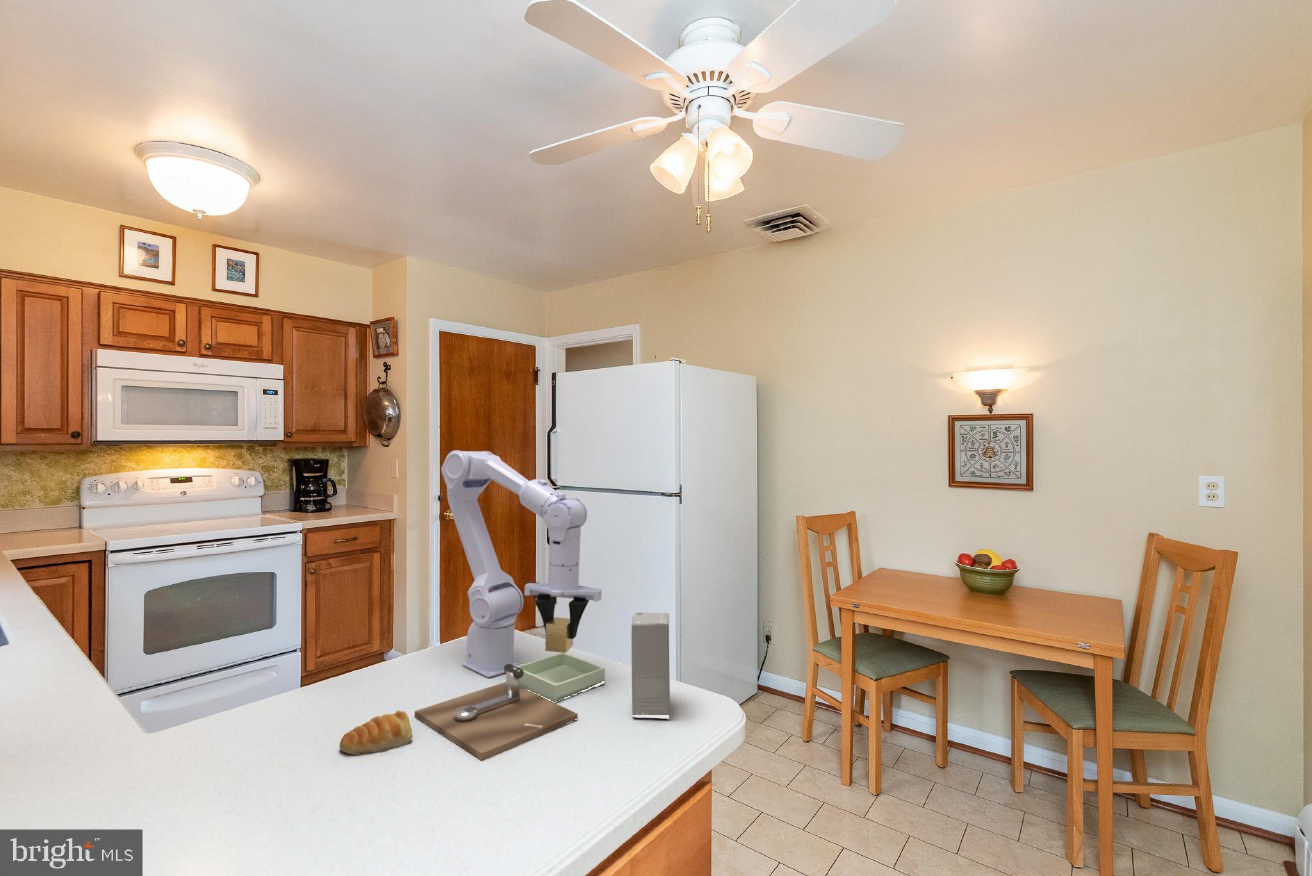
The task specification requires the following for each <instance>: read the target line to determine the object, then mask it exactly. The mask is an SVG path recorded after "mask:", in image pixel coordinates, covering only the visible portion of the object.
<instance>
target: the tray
mask: <svg viewBox="0 0 1312 876" xmlns="http://www.w3.org/2000/svg"><path fill="white" fill-rule="evenodd" d="M517 667H518V668H521V669H522V670H523V671H524V675H523V677H522V678H521V681H520V687H522V688H524V689H527V690H530V691H531V692H534V693H536V694H539V695H540V696H543V697H545V698H547V699H550V700H551V701H553V702H556V701H559V700H561V699H564V698H565V697H568V696H572V695H573V694H576V693H578V692H580V691H582V690H585V689H588V688H589V687H592V686H594V685H596V684H598V683H601V682H602V681H605V680H606V679H605V678H606V675H605V674H606V668H604V667H602V666H600V665H598V664H595V663H592V662H590V661H588V660H585V659H581V658H579V657H576V656H574V655H571V654H568V653H567V652H566V653H561V652H559V653H558V654H553V655H551V656H547V657H544V658H539V659H537V660H534V661H531V662H527V663H523V664H521V665H520V666H517ZM605 682H606V681H605ZM559 702H560V701H559Z"/></svg>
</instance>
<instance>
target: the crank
mask: <svg viewBox="0 0 1312 876" xmlns="http://www.w3.org/2000/svg"><path fill="white" fill-rule="evenodd" d="M504 672H505V673H504V674H505V675H506V677H505V682H506V694H505V695H503V696H500V697H497V698H495V699H492V700H489V701H486V702H483V703H480V704H477V705H474V706H463V707H459V708H457V709H455V710H454V715H453V718H454V719H455V720H458V721H468V720H472V719H474V718H476V717H477V714H480V713H482V712H485V711H488V710H491V709H494V708H497V707H499V706H502V705H505V704H508V703H511V702H513V701H516V700H519V699H520V681H521V678H522V677H523V675H524V671H523V670H522V669H521V668H518V667H516V666H514V665H512V664H506V665H505V666H504Z"/></svg>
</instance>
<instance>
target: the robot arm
mask: <svg viewBox="0 0 1312 876" xmlns="http://www.w3.org/2000/svg"><path fill="white" fill-rule="evenodd" d="M441 474H442V476H443V480H444V483H445V486H446V497H447V502H448V506H449V508H450V511H451V514H452V517H453V521H454V523H455V527H456V530H457V532H458V535H459V538H460V541H461V543H462V547H463V550H464V554H465V556H466V560H467V563H468V565H469V568H470V570H471V571H470V572H471V574H472V577H473V580H474V581H473V582H472V584H471V586H470V587H469V589H468V591H467V595H468V600H469V614H470V617H471V619H472V621H473V622H472V623H470V624H471V625H470V626H469V628H468V630H467V635H466V637H467V640H466V656H465V657H466V659H465V660H466V661H463V662H462V663H461V664H462V666H463V667H465V668H468V669H470V670H471V671H475V672H476V673H478V674H480V675H482V676H484V677H487V678H491V677H495V676H498V675H502V674H506V673H505V672H504V666H505V665H506V664H512V665H514V666H516V667H517V666H520V665H522V664H521V663H518V662H516V661H514V651H515V649H514V648H515V646H514V645H515V623H516V621H517V620H518V619H517V618H518V614H519V613H521V611H522V609H523V608H524V596H528V597H529V596H537V598H536V599H535V601H534V603H535V606H536V607H537V610H538V612H539V614H540V616H541V619H542V622H543V628H544V632H545V634H546V623H547V622H549V621H550V620H551V619H552V618H553V617H555V611H556V610H555V609H556V603H557V602H556V601H557V598H564V599H572V600H571V601H570V602H568V610H569V619H570V629H569V638H570V639H573V640H574V639H575V638H576V637H577V633H578V630H579V629H578V628H579V625H580V621H581V619H582V617H583V614H584V612H585V610H586V607H587V606H588V604H589V602H590V601H593V602H600V601H601V600H602V589H601V588H596V587H595V588H594V587H590V586H585V585H579V583H580V582H579V581H580V580H579V579H580V575H579V574H580V558H581V557H580V555H581V554H580V553H581V552H580V551H581V536H582V535H581V534H582V533H581V529H582V527H583V526H584V524H585V523H586V522H587V518H588V510H587V507H586V505H585V504H584V503H583V502H582V501H581V500H580V499H579V498H576V497H572V498H571V497H570V498H567V497H566V494H565V493H564V492H563V491H561V492H560V491H557V490H555V489H554V488H552V487H550V486H549V485H548V483H549V482H548V481H547V480H545V479H543V478H542V479H538V478H537V479H536V478H535V479H531V480H528V478H525V476H524V475H522V474H520V473H519V472H518V471H516V470H515V469H514V468H512V467H510V466H509V465H508V464H507V463H505V462H504V461H502V459H501V458H500V456H498V455H495V454H493V453H492V452H491V451H488V450H482V451H476V450H475V451H473V450H472V451H471V450H470V451H466V450H465V451H464V450H463V451H462V450H458V449H457V450H452V451H450V452H449V453H448V454H447V456H446V457H445V459H444V462H443V464H442V466H441ZM491 481H493V482H495V483H497V484H499V485H501V486H502V487H504V488H506V489H507V490H509V491H511V492H513V493H514V494H516V495H518V496H519V497H518V498H519V503H520V504H521V505H522V506H524V507H525V508H526V509H528V510H529V511H531V512H533V513H534V514H536V515H537V516H538V517H540V518H542V519H543V521H544V524H545V525H546V528H547V529H548V538H549V547H548V551H549V552H548V571H547V573H548V574H547V583H546V582H545V583H543V582H542V583H541V582H540V583H536V582H535V583H534V582H529V583H526V584H525V585H524V595H523V593H522V591H521V589H519V588H518V586H517V585H516V583H515V581H514V579H513V576H511V575H509V574H507V573H506V572H505V571H503V570H502V569H501V566H500V562H499V560H498V556H497V554H496V551H495V548H494V545H493V542H492V540H491V536H490V533H489V530H488V527H487V525H486V523H485V519H484V516H483V514H482V511H481V507H480V504H479V501H478V499H479V496H480V494H482V493H483V491H484V490H485V489H486V488H487V486H488V485H489V484H490V482H491Z"/></svg>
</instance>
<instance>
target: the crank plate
mask: <svg viewBox="0 0 1312 876" xmlns="http://www.w3.org/2000/svg"><path fill="white" fill-rule="evenodd" d="M505 694H506V681H504V682H501V683H498V684H494V685H491V686H488V687H486V688H483V689H480V690H479V689H478V690H475V691H474V692H471V693H467V694H464V695H460V696H457V697H454V698H451V699H449V700H445V701H442V702H439V703H436V704H432V705H429V706H426V707H424V708H420V709H417V710H415V711H414V718H415V719H416V720H418V722H419V721H420V722H421V723H422V724H424V725H425V726H427V727H429V728H430V729H432V730H433V731H435V732H436V733H438V734H440V735H441V736H442V737H444V738H445V739H448V740H449V741H450V742H452V743H454V744H456V746H458V747H460V748H461V749H463V750H465V752H468V753H469V754H470V755H472V756H474V757H475V758H476V759H478V760H480V761H484V760H487V759H489V758H491V757H493V756H496V755H499V754H500V753H503V752H506V751H508V750H510V749H512V748H515V747H517V746H519V745H521V744H524V743H527V742H528V741H529V742H530V741H531V740H534V739H537V738H538V737H541V736H543V735H545V734H544V733H546V734H548V733H550V732H552V731H551V730H553V731H556V730H557V729H559V727H560V728H562V727H564V726H563V725H565V724H567V723H569V722H571V721H574V720H575V719H577V720H578V713H577V712H575V711H572V710H570V709H568V708H566V707H564V706H562V705H560V704H557V703H554V702H552V701H549V700H547V699H545V698H543V697H541V696H539V695H537V694H535V693H533V692H530V691H528V690H526V689H524V688H522V687H520V699H519V700H516V701H513V702H511V703H508V704H505V705H502V706H499V707H497V708H494V709H491V710H488V711H485V712H482V713H480V714H477V717H476V718H474V719H472V720H468V721H458V720H455V719H454V718H453V715H454V710H455V709H457V708H459V707H463V706H474V705H477V704H480V703H483V702H486V701H489V700H492V699H495V698H497V697H500V696H503V695H505ZM574 722H575V721H574ZM569 724H570V723H569ZM567 725H568V724H567ZM561 726H562V727H561ZM565 726H566V725H565ZM556 728H557V729H556ZM549 731H550V732H549ZM533 738H534V739H533Z"/></svg>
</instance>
